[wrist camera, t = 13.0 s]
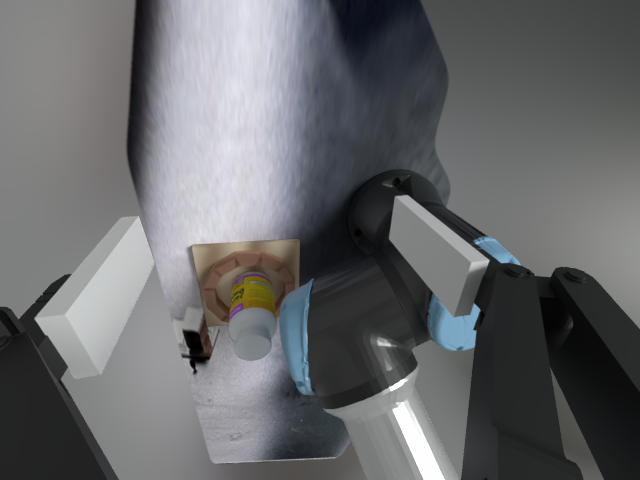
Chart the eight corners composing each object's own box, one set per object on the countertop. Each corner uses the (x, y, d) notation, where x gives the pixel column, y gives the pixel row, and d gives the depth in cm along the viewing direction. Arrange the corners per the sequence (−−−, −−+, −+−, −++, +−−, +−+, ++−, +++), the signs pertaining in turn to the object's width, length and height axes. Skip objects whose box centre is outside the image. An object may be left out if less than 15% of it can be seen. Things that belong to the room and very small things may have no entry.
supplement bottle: (241, 264, 46) (239, 324, 35) (279, 276, 49) (288, 336, 38) (225, 295, 48) (218, 360, 38) (262, 305, 51) (266, 369, 40)
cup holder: (298, 238, 47) (301, 248, 45) (297, 312, 55) (299, 324, 52) (192, 244, 44) (189, 255, 41) (207, 322, 52) (205, 335, 49)
